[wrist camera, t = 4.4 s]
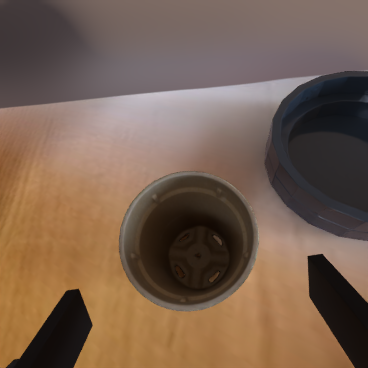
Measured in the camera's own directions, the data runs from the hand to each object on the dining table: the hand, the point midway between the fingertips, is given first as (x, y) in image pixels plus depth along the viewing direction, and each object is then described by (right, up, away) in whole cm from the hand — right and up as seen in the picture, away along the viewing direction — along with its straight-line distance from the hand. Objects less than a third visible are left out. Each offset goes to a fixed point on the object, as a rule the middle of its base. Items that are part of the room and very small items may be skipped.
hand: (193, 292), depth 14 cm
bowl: (+17, +8, +12) cm, 22 cm away
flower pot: (+1, -1, +10) cm, 10 cm away
